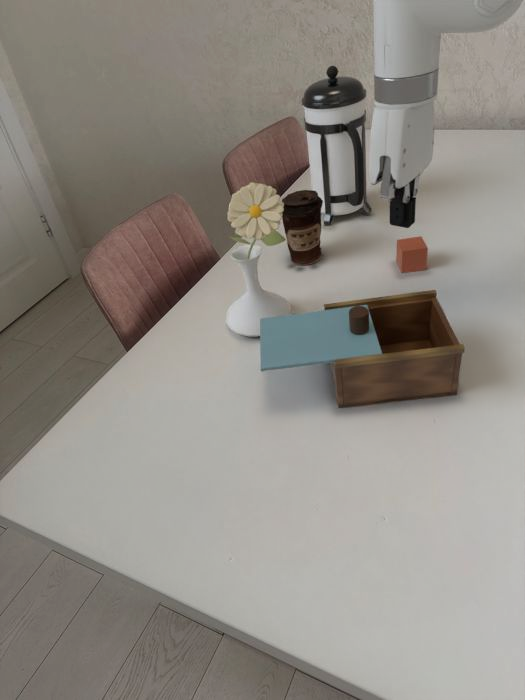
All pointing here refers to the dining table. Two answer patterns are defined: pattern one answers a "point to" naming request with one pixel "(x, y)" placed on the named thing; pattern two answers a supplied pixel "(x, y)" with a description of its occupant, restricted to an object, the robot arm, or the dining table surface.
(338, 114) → the coffee press
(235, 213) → the flower in vase
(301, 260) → the coffee cup
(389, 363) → the wooden box
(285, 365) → the sliding box lid
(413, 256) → the block
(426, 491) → the dining table surface
